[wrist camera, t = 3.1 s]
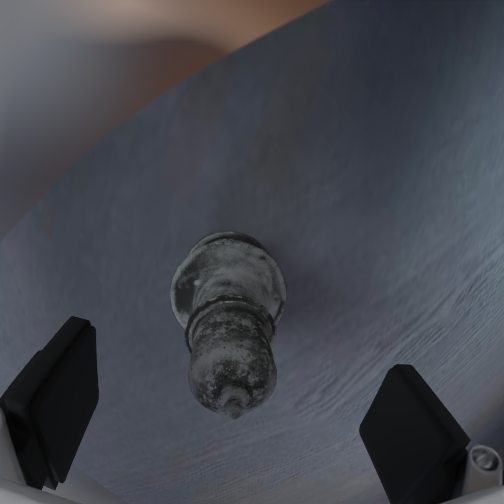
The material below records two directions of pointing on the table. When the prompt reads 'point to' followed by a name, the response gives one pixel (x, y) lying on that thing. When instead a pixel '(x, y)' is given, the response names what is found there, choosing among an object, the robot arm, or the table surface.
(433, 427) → the robot arm
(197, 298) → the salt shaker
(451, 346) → the table surface
